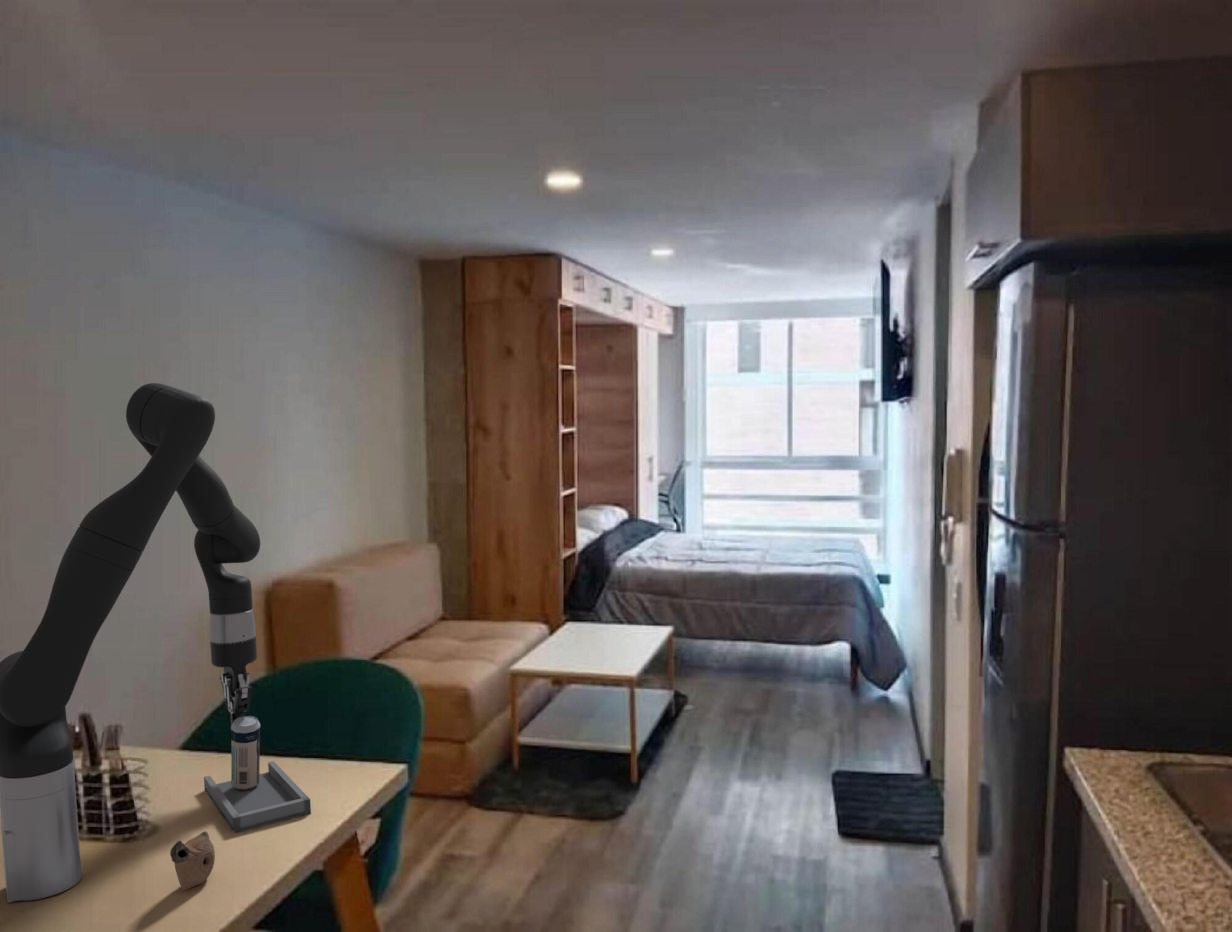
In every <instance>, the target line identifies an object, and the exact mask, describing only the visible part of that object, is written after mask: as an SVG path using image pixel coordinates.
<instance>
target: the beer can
mask: <svg viewBox="0 0 1232 932" xmlns="http://www.w3.org/2000/svg"><path fill="white" fill-rule="evenodd" d="M230 730H232V731H231V744H230V746H231V748H230V750H231V753H230V754H231V758H230V759H231V760H230V761H231V762H230V763H231V767H230V768H231V774H230V775H231V779H230V781H231V785H232V787H234V788H236V789H240V790H247V789H251V788H253V787H255V786H256V785H257V784H259V782H260V779H259V774H260V763H261V762H260V760H261V759H260V748H261V746H260V745H261V734H260V733H261V723H260V721H259V720H258V717H255V716H253V715H245V716H243V717H239V718H237V719H236V720H234V722H233V724H232V726H231V725H230Z"/></svg>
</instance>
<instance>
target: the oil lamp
mask: <svg viewBox="0 0 1232 932" xmlns="http://www.w3.org/2000/svg"><path fill="white" fill-rule="evenodd" d="M215 853H216V852H215V847H214V845H213V843H212V841H211V839H210V836H209V833H208V832H207V831H202V832H201V833H199V834H197V835H196V836H194V837H193V838H191V839H189V840H187V841H186V842H185V843H183V841H182V840H177V841H176V842H175V843H174V845H173V846H172V847H171V849H170V853H169V855H170V858H171V861H172V862H173V863H174V869H175V873H176V877H177V879H178V883H179V886H180V887H181V889H182V890H184V891H185V890H188V889H190V888H193V887H195V886H199V885H200V884H203V882H205V881H206V880H207V879H208V878H209V876H210V875H211V874H212V872H213V871H212V870H213V868H214V865H215V861H216V859H215V858H216V854H215Z"/></svg>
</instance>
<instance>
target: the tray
mask: <svg viewBox="0 0 1232 932" xmlns="http://www.w3.org/2000/svg"><path fill="white" fill-rule="evenodd" d="M267 768H268V771H267V772H262V773H259V779H260V782H259V784H257V785H256V786H255V787H253V788H251V789H247V790H240V789H236V788H234V787H232V785H231V780H229V781H225V782H220V783H216V782H215V780H214V778H212V776H211V775H205V776H203V785H204V791H205V793H206V795H207V796H208V797H209V798H210V800H211V802H212V803H213V804H214V806H215V807H216V809H217V810H218V812H219V813H220V814H221V816H222V818H223V819H224V820H225V821H226V823H227V825H228V826H229V827H230V829H231V830H232V832H233V833H234V834H237V833H241V832H245V831H248V830H252V829H257V828H261V827H265V826H267V825H271V824H275V823H279V822H283V821H287V820H291V819H294V818H298V817H302V816H306V815H311V814H312V812H311V811H312V808H311V807H312V806H311V798H310V797H309V796H308V795H307V794H306V793H305V791H304V790H302V789H301V788H300V787H299V786H298V785H297V783H295V782H294V781H293V780H292V779H291V778H290V776H288V774H287V773H286V772H285V771H284V770H283V769H282V768H281V767H280V766H279V765H278V764H277V763H276V762H275V761H274V760H272V761H267Z"/></svg>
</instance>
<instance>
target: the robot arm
mask: <svg viewBox="0 0 1232 932" xmlns="http://www.w3.org/2000/svg"><path fill="white" fill-rule="evenodd" d="M215 411H216V410H215V408H214V405H213V403H212V402H211V401H209V399H207V398H205V397H202V396H200V395H197V394H194V393H191V392H189V391H186V390H183V389H180V388H177V387H174V386H171V385H167V384H163V383H158V382H151V383H146V384H143V385H142V386H140V387H139V388H137V389H136V390H135V391H134V392H133V393H132V395H131V396H130V398H129V400H128V402H127V405H126V410H125V419H126V424H127V426H128V429H129V430H130V432H131V433H132V435H133V436H134V438H135V439H136V440H137V441H138V442H139V443H140V445H141V447H143V448H144V449H145V451H146V452H147V453H148V454H149V455H150V458H149V460H148V462H147V463H146V465H145V466H144V468H143V469H142V470H141V471H140V472H139V473H138V475H136V476H135V477H134V478H133V479H132V480H131V481H130V482H128V483H127V484H125V485H124V486H123V487H121V488H120V489H119V490H116V491H115V492H113V493H112V494H111V495H109V496H108V497H106V498H105V499H103V500H102V501H100V502H99V503H98V504H96V505H95V506H94V507H93V508H92V509H91V510H89V511H88V512H87V513H86V514H85V516H84V517H83V518H82V521H81V522H80V524H79V525H78V527H77V528H76V531H75V532H74V535H73V536H72V538H71V539H70V542H69V544H68V545H67V547H66V549H65V550H64V554H63V555H62V558H61V560H60V563H59V565H58V567H57V571H56V574H55V577H54V581H53V585H52V587H51V591H50V596H49V599H48V601H47V606H46V608H45V612H44V613H43V616H42V618H41V620H40V623H39V625H38V626H37V628H36V630H35V631H34V633H33V635H32V637H31V638H30V640H29V641H28V643H27V644H26V646H25V648H24V649H23V650H21V651H16V652H14V653H12V654H11V653H10V654H9V655H8V656H5V657H4V658H3V659H2V660H1V661H0V828H1V829H0V831H1V841H2V842H1V843H2V855H3V856H2V857H3V868H4V881H5V883H4V884H5V892H6V902H7V903H13V902H17V901H33V900H39V899H40V900H41V899H46V898H47V897H53V896H54V895H57V894H60V893H63V892H65V891H67V890H69V889H70V888H72V887H74V886H75V885H77V883H78V882H80V880H81V878H82V859H81V851H80V850H81V847H80V846H81V845H80V836H79V835H80V834H79V822H78V821H79V819H78V808H77V807H78V805H77V794H76V789H77V788H76V779H75V775H76V774H75V762H74V761H75V760H74V750H73V741H72V738H71V735H70V731H69V725H68V720H67V709H66V706H67V705H68V703H69V701H70V699H71V697H72V694H73V692H74V690H75V686H76V684H77V682H78V679H79V676H80V675H81V671H82V669H83V666H84V664H85V661H86V660H87V657H88V654H89V653H90V652H89V651H90V650H91V647H92V645H93V642H94V641H95V638H96V637H97V635H98V632H99V631H100V630H101V627H102V626H103V625H104V622H105V621H106V619H107V618H108V616H109V614H110V613H111V611H112V609H113V607H114V606H115V604H116V602H117V600H118V598H119V597H120V595H121V593H122V591H123V589H124V588H125V586H126V584H127V583H128V581H129V579H130V577H131V575H132V573H133V572H134V571H135V568H136V566H137V564H138V563H139V560H140V558H141V556H142V554H143V552H144V551H145V548H146V546H147V545H148V542H149V540H150V538H151V536H152V534H153V532H154V531H155V529H156V526H157V524H158V523H159V521H160V519H161V517H162V516H163V513H164V512H165V510H166V508H167V506H168V505H169V503H170V501H171V500H172V497H173V496H174V494H175V492H176V493H177V495H178V496H179V498H180V501H181V502H182V504H183V506H184V508H185V510H186V512H187V514H188V516H189V518H190V519H191V522H192V523H193V525H194V527H195V528H196V529H197V531H196V534H195V537H194V541H193V544H194V546H193V547H194V553H195V555H196V558H197V561H198V563H199V565H200V568H201V571H202V574H203V576H204V580H205V584H206V587H207V590H208V601H209V602H208V603H209V604H208V605H209V623H208V626H209V627H208V628H209V644H210V659H211V665H212V666H214V667H215V668H223V673H221V674H220V677H219V680H220V683H221V688H222V691H223V697H224V701H225V702H224V703H225V705H226V706H227V710H228V712H229V714H230V716H229V717H230V727H231V726H232V724H233V722H234V720H236V719H237V718H239V717H243V716H246V712H248V711H250V706H251V702H252V695H253V690H254V689H253V687H252V686H250V685H249V684H250V682H251V676H250V673H249V672H248V671H247V667H246V666H247V665H248V664H249V665H250V664H253V663H254V662H255V661H256V660H257V659H258V651H257V633H256V620H255V619H256V618H255V615H254V609H253V608H254V607H253V597H252V596H253V593H252V591H253V590H252V583H251V580H250V578H249V577H246V576H244V575H240V574H234V573H231V572H229V571H227V570H226V569H225V567H224V565H223V564H244V563H249V562H251V561H253V560H254V559H255V558H256V557H257V556H258V554H259V552H260V548H261V538H260V534H259V532H258V530H257V528H256V526H255V525H254V524H253V522H252V521H251V519H249V517H247V515H245V514H244V513H243V512H242V511H241V510H240V509H239V508H238V507H236V505H235V504H234V502H233V500H232V497H231V495H230V493H229V491H228V489H227V487H226V484H225V483H224V482H223V480H222V479H221V477H220V475H219V474H218V473H217V472H216V470H214V469H213V468H212V466H210V465H209V464H208V463H207V462H206V461H205V459H204V458H202V456H201V455H200V454H201V453H202V451H203V450H204V447H205V446H206V445H207V442H208V441H209V438H210V436H211V433H212V432H213V430H214V425H215V420H216V412H215ZM230 730H231V729H230ZM231 732H232V730H231Z"/></svg>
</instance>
